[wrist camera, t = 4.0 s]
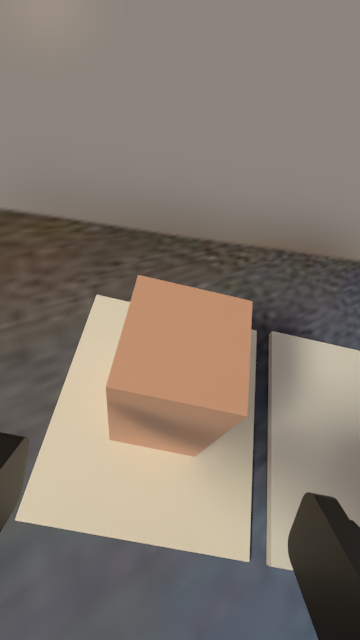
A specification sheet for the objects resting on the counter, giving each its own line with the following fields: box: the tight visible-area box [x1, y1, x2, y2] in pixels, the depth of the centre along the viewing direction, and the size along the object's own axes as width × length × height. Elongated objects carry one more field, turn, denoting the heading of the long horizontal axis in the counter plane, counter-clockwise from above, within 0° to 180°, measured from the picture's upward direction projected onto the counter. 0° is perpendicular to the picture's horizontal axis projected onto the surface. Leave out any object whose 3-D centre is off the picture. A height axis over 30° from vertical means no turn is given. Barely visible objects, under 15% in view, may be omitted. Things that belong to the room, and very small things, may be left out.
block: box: [106, 275, 252, 457], centre depth 16 cm, size 5×5×9 cm
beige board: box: [266, 331, 360, 571], centre depth 21 cm, size 12×14×1 cm
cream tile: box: [15, 295, 257, 562], centre depth 20 cm, size 12×14×1 cm
